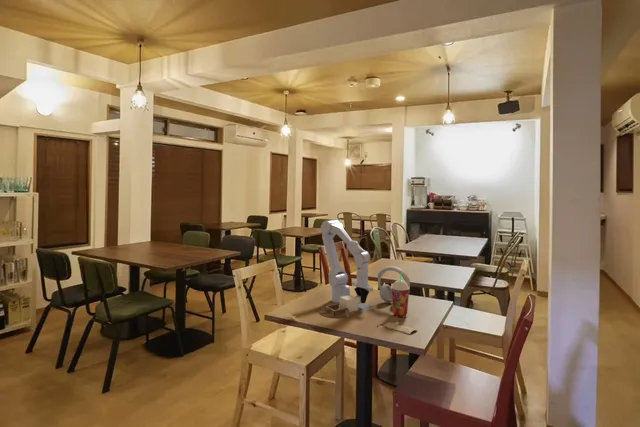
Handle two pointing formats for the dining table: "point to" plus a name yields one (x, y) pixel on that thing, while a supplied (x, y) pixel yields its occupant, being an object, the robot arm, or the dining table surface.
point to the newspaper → (398, 327)
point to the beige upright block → (350, 302)
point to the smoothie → (400, 298)
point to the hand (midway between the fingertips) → (362, 302)
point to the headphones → (386, 289)
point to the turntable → (335, 312)
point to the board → (364, 307)
